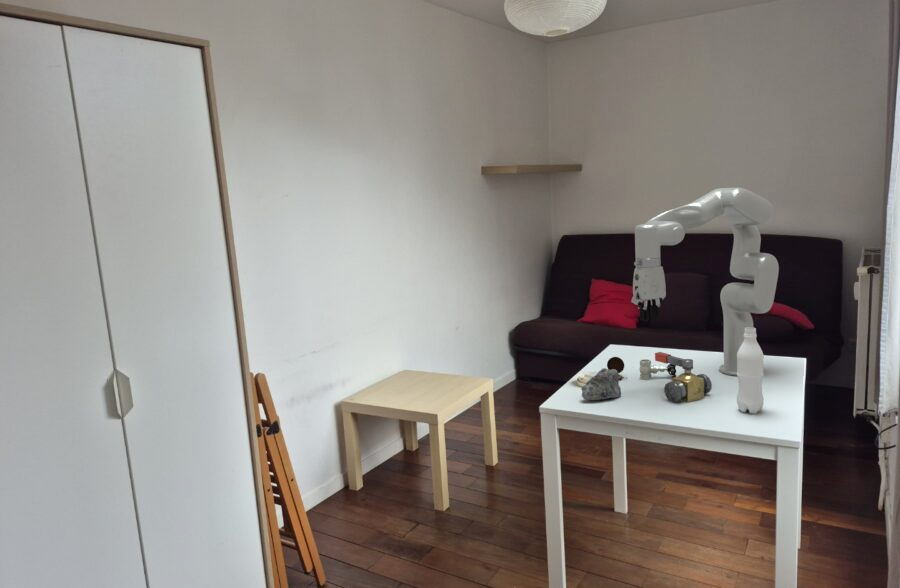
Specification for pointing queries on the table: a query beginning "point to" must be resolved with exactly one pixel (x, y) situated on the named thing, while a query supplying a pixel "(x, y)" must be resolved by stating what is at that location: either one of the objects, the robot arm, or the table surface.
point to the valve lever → (674, 360)
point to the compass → (616, 365)
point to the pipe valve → (687, 387)
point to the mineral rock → (602, 385)
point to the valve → (654, 369)
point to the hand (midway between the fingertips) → (649, 319)
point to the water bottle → (750, 373)
